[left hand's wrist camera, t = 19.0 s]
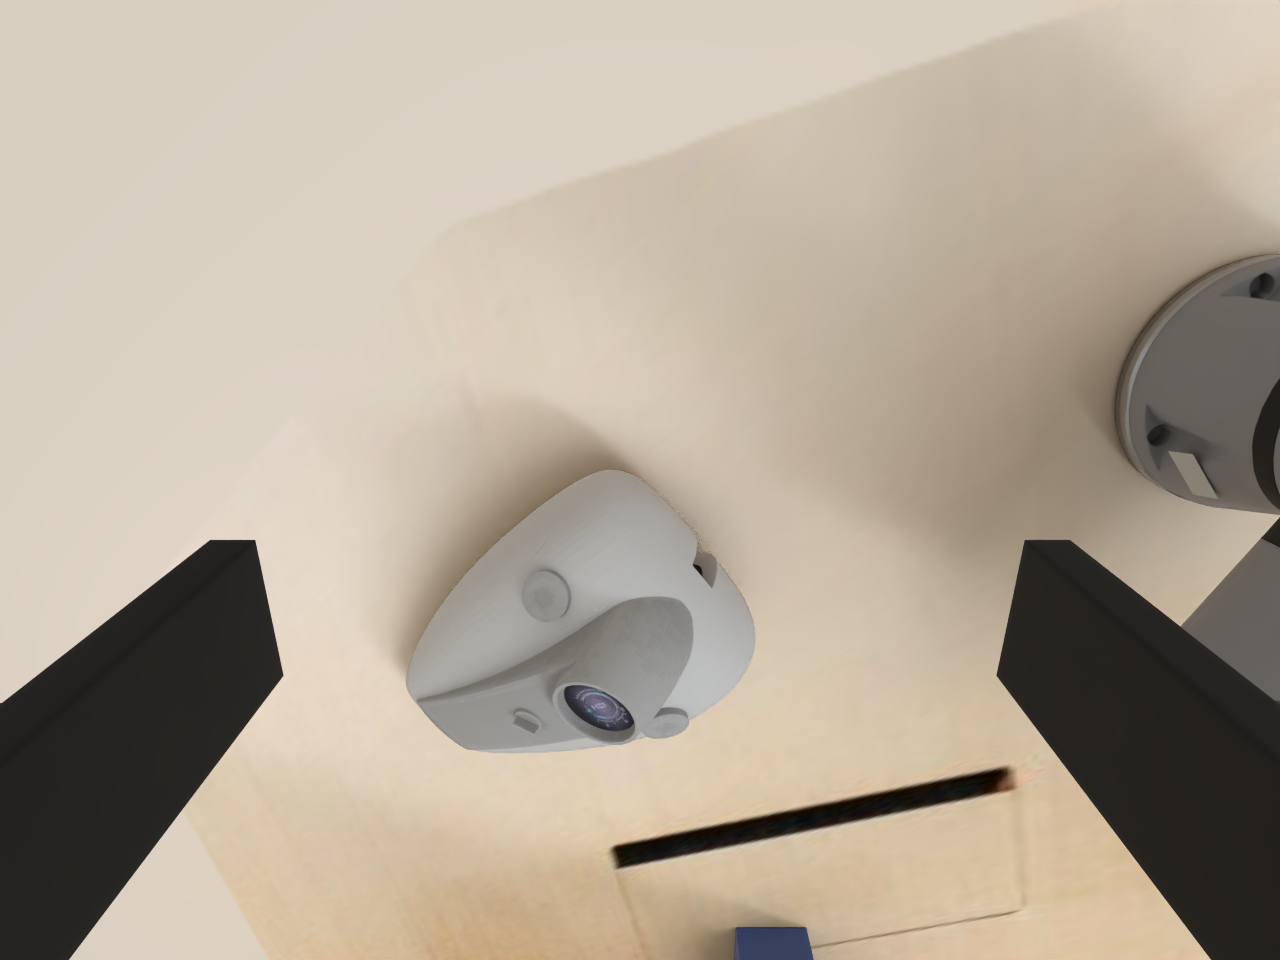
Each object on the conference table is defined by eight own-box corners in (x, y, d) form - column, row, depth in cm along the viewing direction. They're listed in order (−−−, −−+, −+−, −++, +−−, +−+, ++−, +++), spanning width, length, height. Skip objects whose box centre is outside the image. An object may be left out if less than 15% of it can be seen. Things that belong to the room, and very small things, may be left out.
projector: (407, 435, 46) (309, 533, 32) (765, 461, 47) (818, 568, 33) (419, 719, 54) (344, 895, 40) (725, 738, 55) (754, 917, 41)
